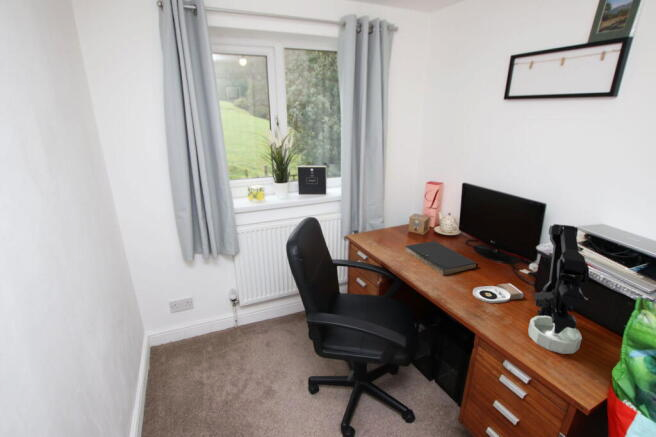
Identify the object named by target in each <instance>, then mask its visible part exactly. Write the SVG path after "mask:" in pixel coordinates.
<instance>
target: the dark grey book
mask: <svg viewBox="0 0 656 437" xmlns="http://www.w3.org/2000/svg"><path fill="white" fill-rule="evenodd" d="M404 250H405V252H406V253H407V254H409V255H411V256H412V257H413V258H415V259H416V260H419V261H421V262H422V263H423V264H425V265H426V266H428V267H430V268H432V269H433V270H435V271H436V272H437V273H438V274H441V276H446V275H451V274H455V273H458V272H462V271H467V270H470V269H475V268H478V266H479V263H478V262H476V261H474V260H472V259H469V258H468V257H466V256H464V255H462V254H461V253H458V252H457V251H455V250H452V249H451V248H449V247H447V246H445V245H443V244H441V243H439V242H438V241H436V240H433V241H431V240H430V241H427V242H426V241H425V242H420V243H414V244H411V245H410V244H409V245H405V246H404Z"/></svg>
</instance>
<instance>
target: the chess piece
mask: <svg viewBox="0 0 656 437" xmlns="http://www.w3.org/2000/svg"><path fill="white" fill-rule="evenodd" d="M553 324H554V323H553ZM545 335H547V336H549V337H551V338H554V339H558V340H561V336H560V335H559V334H557V333H555V324H554V327H553V329H552V331H547V332H546V333H545Z"/></svg>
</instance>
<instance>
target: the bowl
mask: <svg viewBox="0 0 656 437" xmlns="http://www.w3.org/2000/svg"><path fill="white" fill-rule="evenodd" d="M553 327H554V324H552V318H551V317H549V316H538V315H536V316H534V317H532V318H531V319H530V320H529V324H528V336H529V337H530V339H532V341H534V343H536V344H537V345H538V346H541V347H542V348H544V349H546V350H548V351H551V352H555V353H559V354H562V355H565V354H575V353H576V352H577V351H578V350H579V349H580V346H581V343H582V339H583V336H582V334H581V332H580V330H579V329H577V327H576V328H575V329H573V328H568V327H567V328H565V329H564V330H563V331H561V332H560V333H559V335H560V336H561V340H558V339H554V338H551V337H549V336H547V335H545V333H546V332H547V331H552V329H553Z"/></svg>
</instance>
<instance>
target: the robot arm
mask: <svg viewBox="0 0 656 437" xmlns="http://www.w3.org/2000/svg"><path fill="white" fill-rule="evenodd" d="M578 232H579V228H578V227H577V226H574V225H568V224H557V223H554V224H553V225H550V226H549V229H548V235H549V241H550V243H551V244H552V246H553V247H552V255H551V257H552V258H551V262H550V273H549V279H548V281H547V283H546V284H545V285H544V286H543V289H542V290H541V291H540V292H534V293H533V297H534V298H533V299H534V304H535V306H536V307H538V308H540V310H539V309H537V316H549V317H551V318H552V324H553V323H554V324H555V333H557V334H559V333H560V332H561V331H563V330H564V329H565V328H567V327H568V328H573V329H575V328H576V329H577V325H578V323H577V320H576V318H575V316H574V315H573V314H570V313H573V311H574V309H573V308H574V307H575V308H576V307H580V306H581V305H583V304H584V303H585V296H584V294H583V292H582V290H581V285H585V286H586V285H588V284H587V283H588V281H589V280H590V268H589V265H588V263H586V258H585V256H584V255H583V254H581V253H580V251H579V245H578ZM569 312H570V313H569Z"/></svg>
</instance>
